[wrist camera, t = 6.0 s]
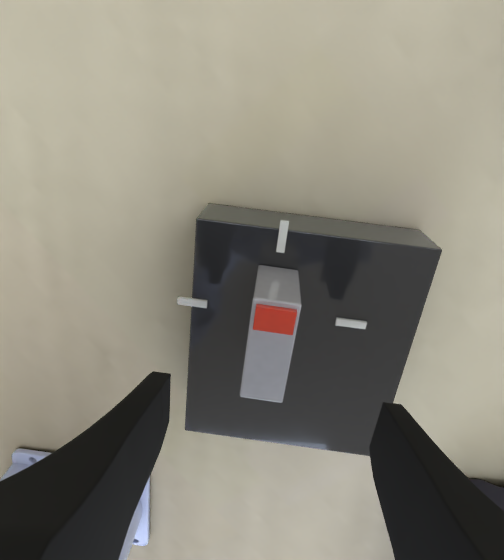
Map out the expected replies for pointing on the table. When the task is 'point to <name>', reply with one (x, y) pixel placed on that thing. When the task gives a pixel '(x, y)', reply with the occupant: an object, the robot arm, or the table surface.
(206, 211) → the panel
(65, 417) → the table surface
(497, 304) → the table surface
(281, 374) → the knob
